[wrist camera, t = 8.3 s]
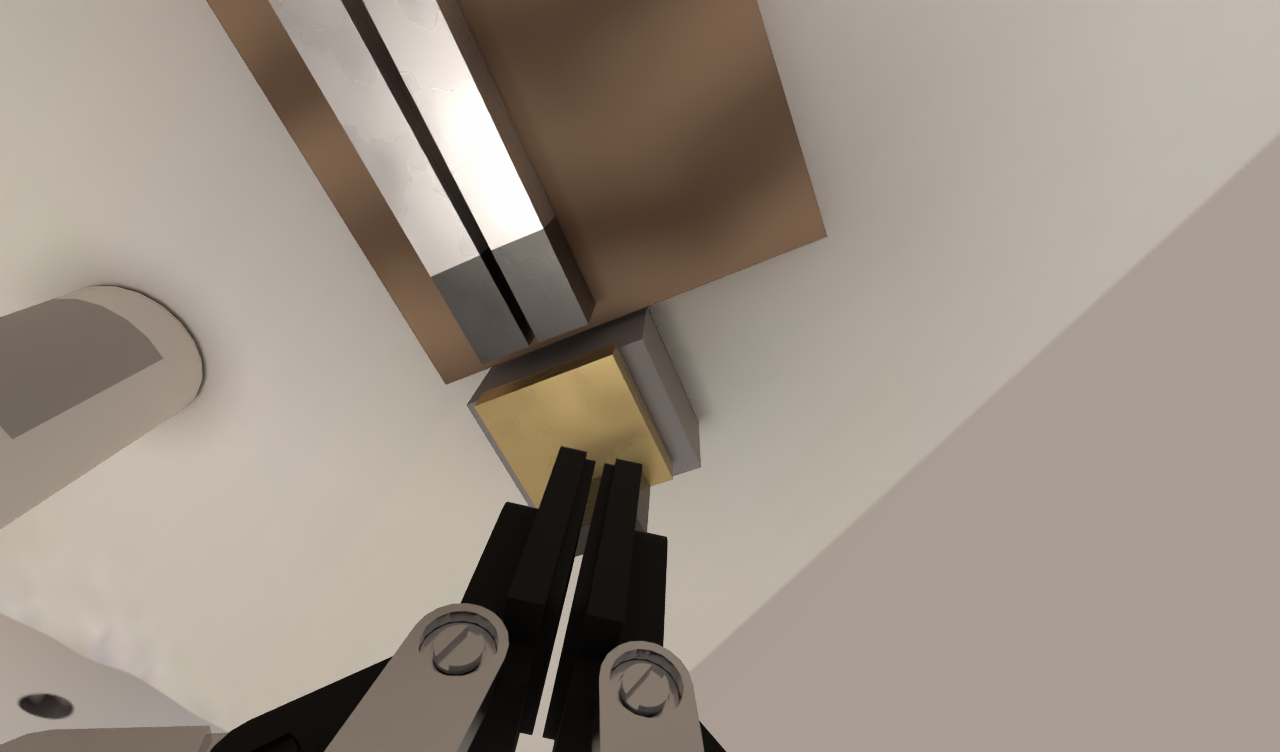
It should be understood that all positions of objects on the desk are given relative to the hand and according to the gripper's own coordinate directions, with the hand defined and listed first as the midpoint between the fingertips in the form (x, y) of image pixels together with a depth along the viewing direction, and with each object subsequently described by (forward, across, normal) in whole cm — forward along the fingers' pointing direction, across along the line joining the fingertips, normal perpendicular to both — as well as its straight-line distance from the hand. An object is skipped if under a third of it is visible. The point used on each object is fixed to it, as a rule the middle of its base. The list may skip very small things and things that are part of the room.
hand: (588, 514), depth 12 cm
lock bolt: (+12, +1, +5) cm, 13 cm away
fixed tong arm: (+15, +10, -5) cm, 18 cm away
